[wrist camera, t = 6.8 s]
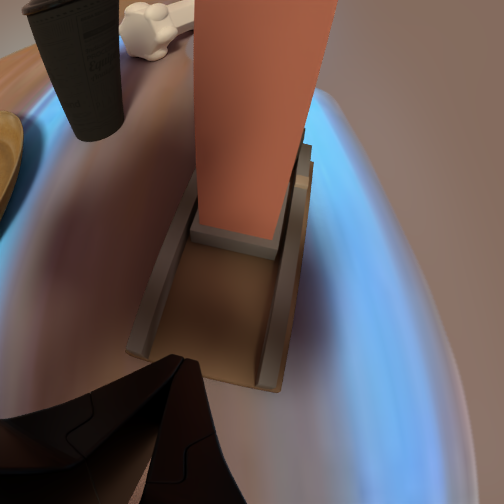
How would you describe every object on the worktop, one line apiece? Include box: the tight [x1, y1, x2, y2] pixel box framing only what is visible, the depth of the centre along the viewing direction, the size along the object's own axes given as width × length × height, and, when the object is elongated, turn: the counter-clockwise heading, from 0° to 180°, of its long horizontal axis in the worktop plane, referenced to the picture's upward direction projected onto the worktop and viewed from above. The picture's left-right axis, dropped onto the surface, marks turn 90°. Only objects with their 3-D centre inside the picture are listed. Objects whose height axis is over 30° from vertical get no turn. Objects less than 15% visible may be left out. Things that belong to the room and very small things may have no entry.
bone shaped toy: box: [119, 0, 195, 61], centre depth 31 cm, size 15×9×8 cm, turn 150°
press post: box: [190, 0, 338, 260], centre depth 12 cm, size 5×5×15 cm
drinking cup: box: [22, 0, 124, 142], centre depth 15 cm, size 8×8×20 cm
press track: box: [125, 128, 314, 393], centre depth 17 cm, size 16×8×4 cm, turn 168°
